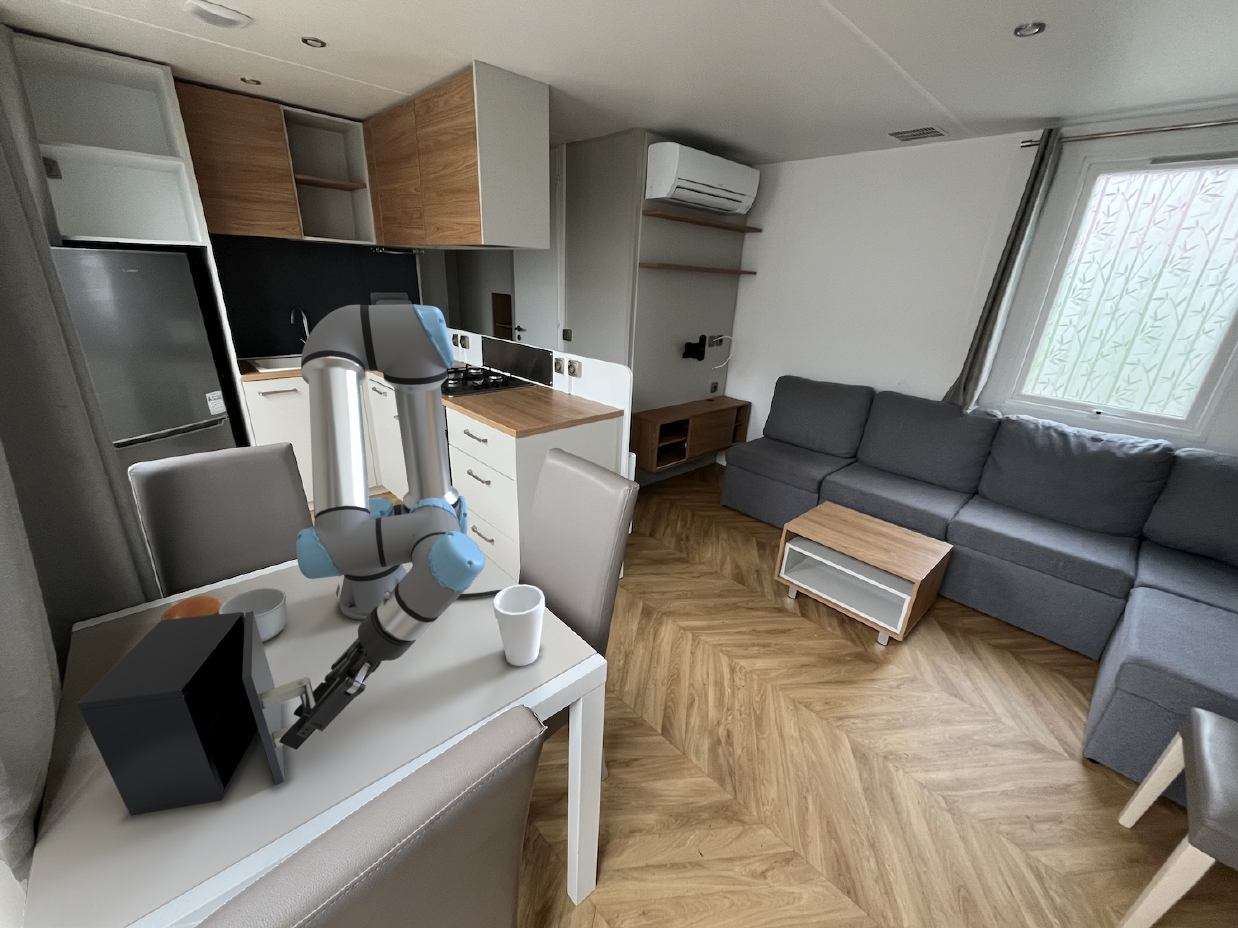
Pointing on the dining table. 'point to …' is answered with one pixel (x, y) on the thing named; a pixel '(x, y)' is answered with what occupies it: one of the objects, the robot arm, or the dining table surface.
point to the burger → (193, 608)
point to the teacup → (261, 609)
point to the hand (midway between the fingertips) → (296, 728)
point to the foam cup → (520, 622)
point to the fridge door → (269, 696)
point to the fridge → (175, 714)
